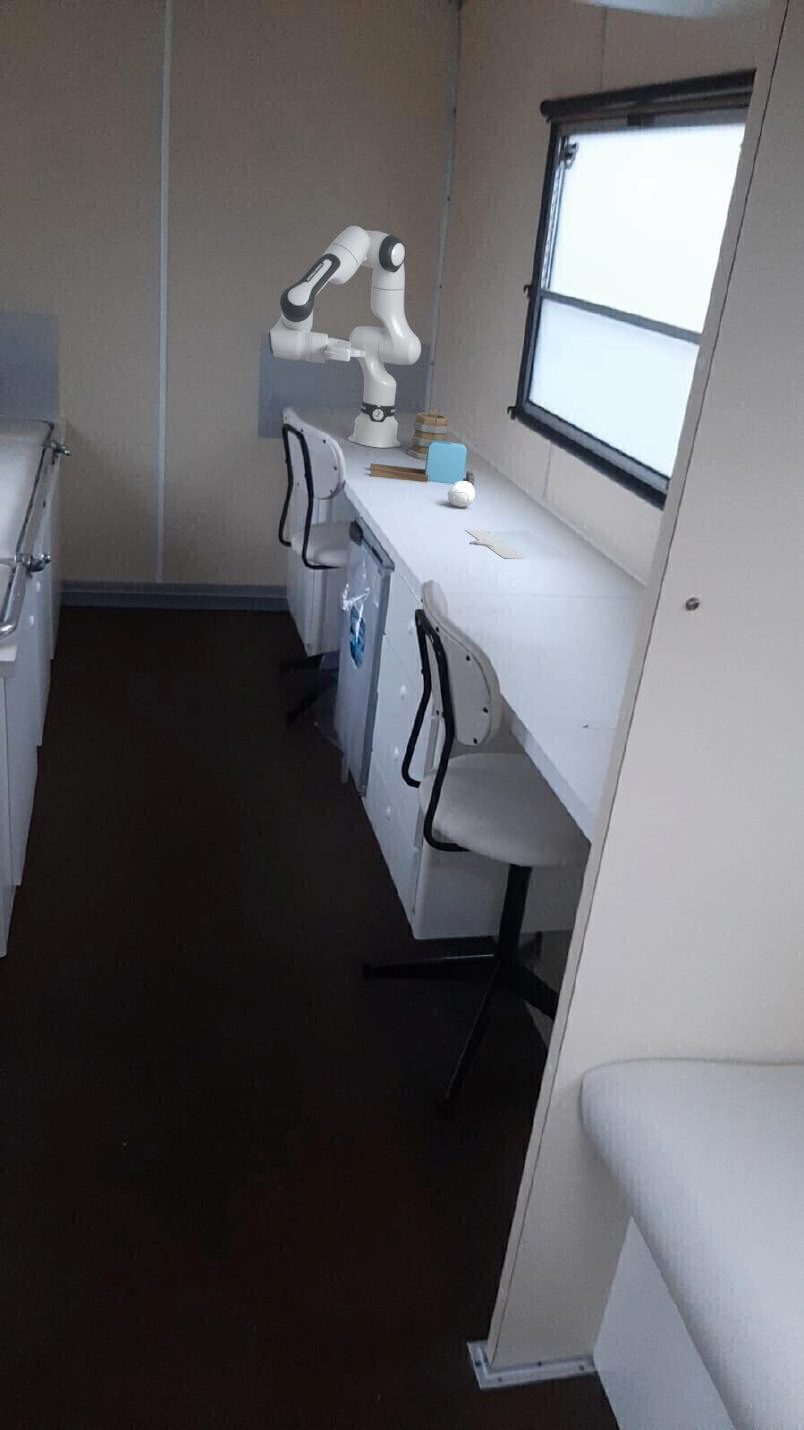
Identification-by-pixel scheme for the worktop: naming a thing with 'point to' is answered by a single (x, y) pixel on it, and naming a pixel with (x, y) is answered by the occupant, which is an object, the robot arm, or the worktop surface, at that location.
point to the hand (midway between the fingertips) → (365, 353)
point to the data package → (445, 462)
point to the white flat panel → (494, 544)
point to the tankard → (427, 432)
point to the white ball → (461, 494)
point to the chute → (406, 473)
